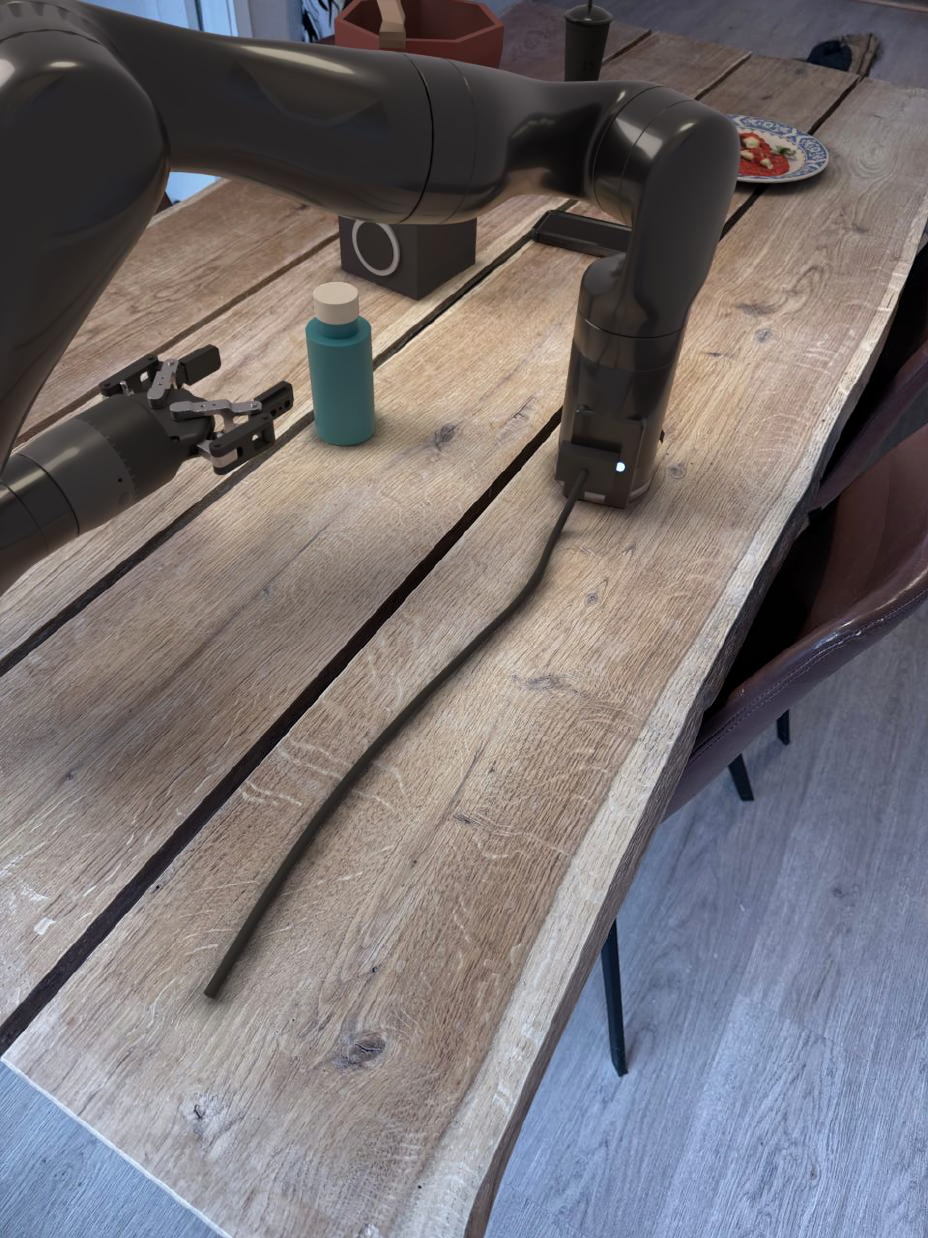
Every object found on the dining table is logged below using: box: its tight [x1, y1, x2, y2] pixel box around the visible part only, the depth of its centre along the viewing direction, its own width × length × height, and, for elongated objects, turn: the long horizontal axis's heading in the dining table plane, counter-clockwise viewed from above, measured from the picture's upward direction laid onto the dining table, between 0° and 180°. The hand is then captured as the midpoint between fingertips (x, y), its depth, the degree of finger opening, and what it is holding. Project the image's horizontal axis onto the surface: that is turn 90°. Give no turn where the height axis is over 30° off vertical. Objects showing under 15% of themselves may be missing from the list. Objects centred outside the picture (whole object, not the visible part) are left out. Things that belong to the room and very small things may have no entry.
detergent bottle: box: [304, 281, 376, 447], centre depth 86 cm, size 6×6×14 cm
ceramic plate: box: [725, 114, 830, 184], centre depth 139 cm, size 26×26×3 cm
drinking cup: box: [563, 0, 614, 82], centre depth 145 cm, size 8×8×20 cm
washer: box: [337, 215, 478, 301], centre depth 108 cm, size 13×12×15 cm
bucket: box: [333, 0, 505, 69], centre depth 127 cm, size 24×22×25 cm
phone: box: [530, 208, 631, 258], centre depth 120 cm, size 8×1×15 cm
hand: (252, 372), depth 76 cm, fingers open, 8 cm apart
